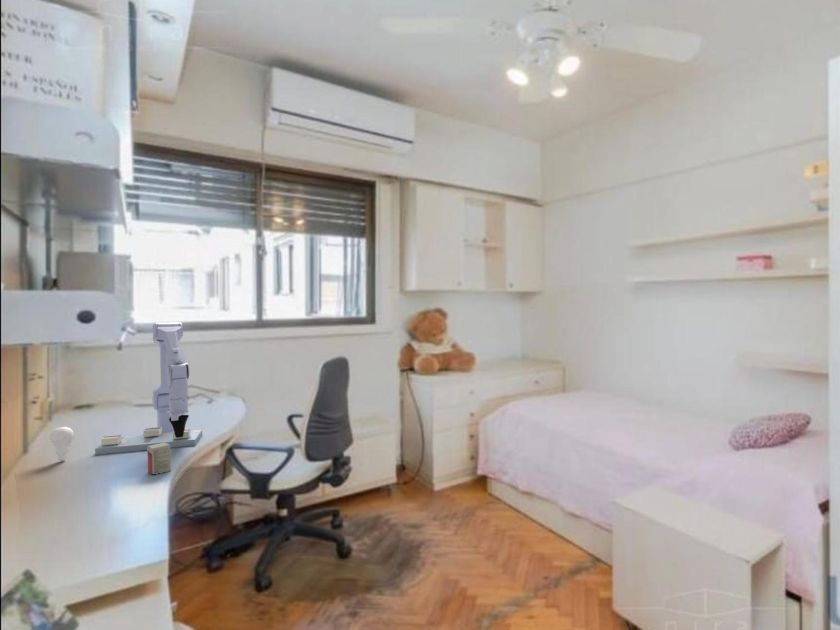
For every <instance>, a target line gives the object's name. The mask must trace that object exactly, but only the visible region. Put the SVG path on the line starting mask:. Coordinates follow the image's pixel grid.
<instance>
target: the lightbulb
mask: <svg viewBox="0 0 840 630" xmlns="http://www.w3.org/2000/svg"><path fill="white" fill-rule="evenodd" d="M74 437H75V434H74V431H73V429H72V428H70V427H68V426H60V427H57V428H55V429H54V430H53V431H51V433H50V436H49V440H50V443H51V444H52V446H53V447H54V449H55V453H56V456H57V461H60V462H65V460H68V458H69V457H68V456H69V455H68V454H69V450H70V446H71V443H72V442H73V440H74Z"/></svg>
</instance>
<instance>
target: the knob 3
mask: <svg viewBox="0 0 840 630" xmlns="http://www.w3.org/2000/svg"><path fill="white" fill-rule="evenodd" d="M191 431H192V429H191V428H185V430H184V435H183V437H178V438H176V436H175V433H174V432H173V439H179V438H189V437H190V435H191Z"/></svg>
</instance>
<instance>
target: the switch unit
mask: <svg viewBox="0 0 840 630" xmlns="http://www.w3.org/2000/svg"><path fill="white" fill-rule="evenodd" d="M202 436H203V429H193V430H192V429H191V435H190V437H189V438H179V439H173V432H168V433H162V434H161V435H159V436H151V437H144V434H137V435H125V436H124V435H122V441H121V442H120V443H119V444H113V445H102V446H101V444H100V445H98V446H97V447H96V448H95V449H94V451H95V456H97V455H107V454H116V453H117V454H118V453H127V452H128V453H129V452H139V451H147V446H151V445H155V444H160V443H167V444H169V445H170V449H171V448H181V447H191V446H196V445H197V444H198V442H199V441H200V439H201V437H202Z"/></svg>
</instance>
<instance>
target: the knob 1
mask: <svg viewBox="0 0 840 630" xmlns="http://www.w3.org/2000/svg"><path fill="white" fill-rule="evenodd" d="M122 436H123V435H122V434H110V435H103V436H102V438H100V445H101V446H102V445H113V444H119V443H120V442H121V441H122Z"/></svg>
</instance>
